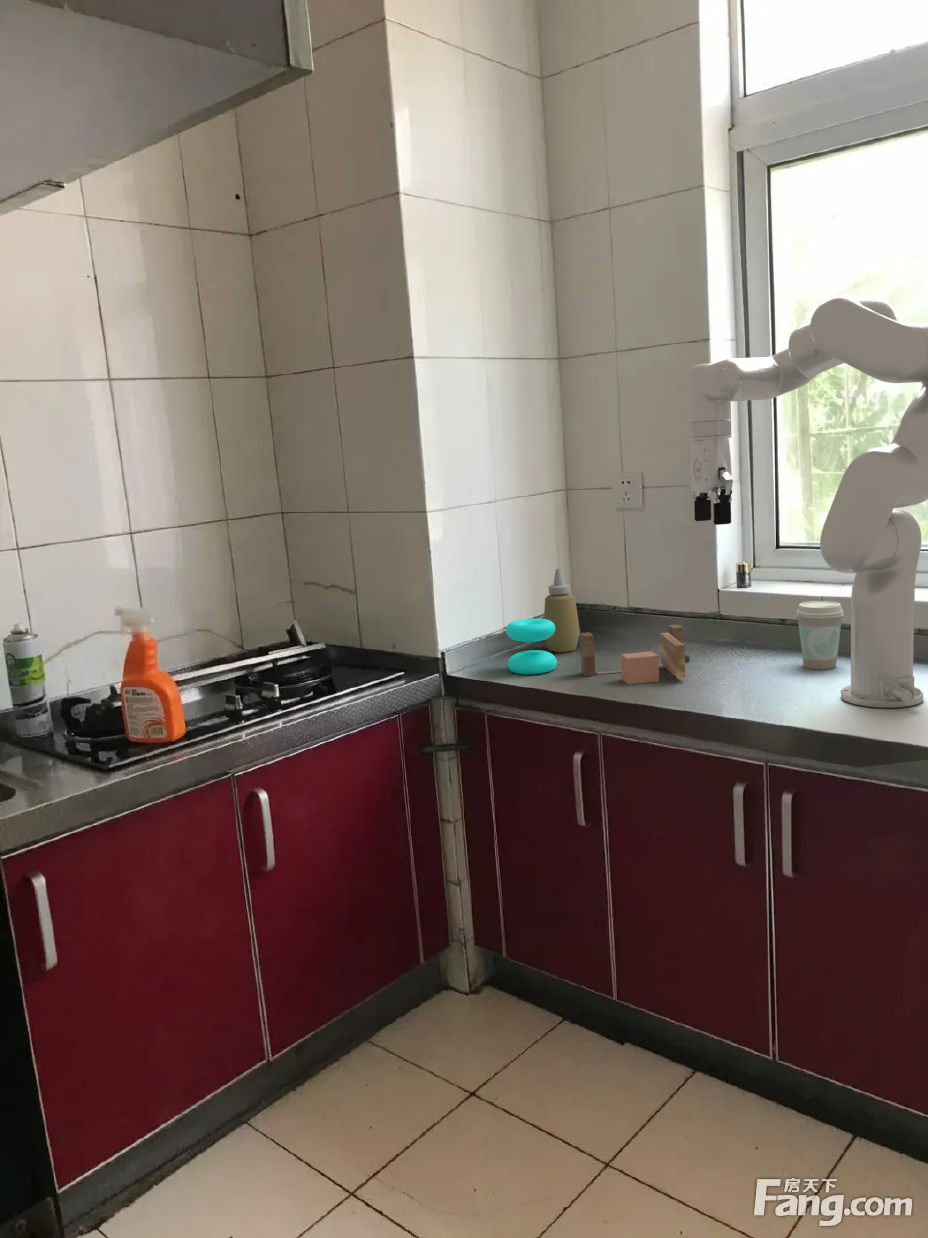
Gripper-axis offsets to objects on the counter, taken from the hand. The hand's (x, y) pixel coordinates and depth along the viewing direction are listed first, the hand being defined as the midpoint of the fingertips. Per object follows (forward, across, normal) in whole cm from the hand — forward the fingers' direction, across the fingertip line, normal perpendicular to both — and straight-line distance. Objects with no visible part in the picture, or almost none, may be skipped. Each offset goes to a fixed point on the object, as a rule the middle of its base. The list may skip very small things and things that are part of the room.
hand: (712, 522), depth 190 cm
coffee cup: (+28, +7, +18) cm, 34 cm away
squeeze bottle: (+28, -28, -24) cm, 47 cm away
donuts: (+29, -12, -34) cm, 46 cm away
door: (+27, +3, -9) cm, 29 cm away
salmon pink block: (+28, +4, -17) cm, 33 cm away
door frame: (+28, -4, -16) cm, 33 cm away
